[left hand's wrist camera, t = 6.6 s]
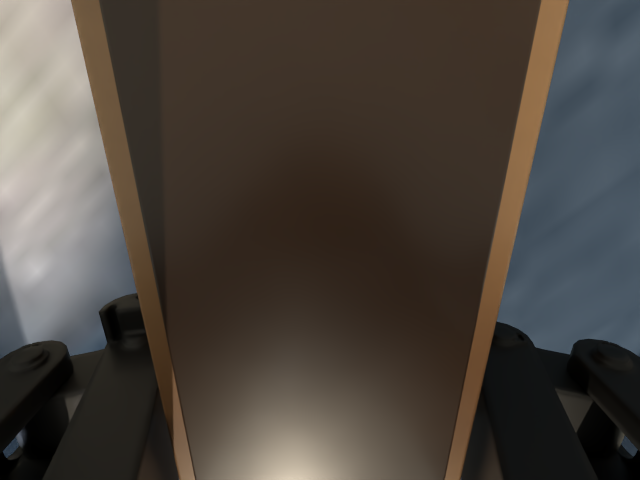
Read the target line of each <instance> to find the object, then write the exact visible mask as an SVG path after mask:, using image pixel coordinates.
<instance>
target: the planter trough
mask: <svg viewBox="0 0 640 480" xmlns="http://www.w3.org/2000/svg"><path fill="white" fill-rule="evenodd" d="M71 2H72V7H73V11H74V16H75V20H76V24H77V29H78V33H79V38H80V42H81V47H82V51H83V55H84V60H85V64H86V69H87V73H88V77H89V82H90V86H91V91H92V95H93V100H94V104H95V108H96V113H97V117H98V122H99V126H100V131H101V135H102V139H103V144H104V148H105V153H106V157H107V161H108V166H109V170H110V175H111V179H112V184H113V188H114V192H115V197H116V201H117V206H118V210H119V215H120V219H121V223H122V228H123V232H124V237H125V241H126V246H127V250H128V254H129V259H130V263H131V268H132V272H133V276H134V281H135V285H136V290H137V294H138V299H139V303H140V307H141V312H142V316H143V321H144V325H145V330H146V334H147V338H148V343H149V347H150V352H151V356H152V361H153V365H154V369H155V374H156V378H157V383H158V387H159V391H160V396H161V400H162V405H163V409H164V414H165V418H166V422H167V427H168V431H169V436H170V440H171V445H172V449H173V453H174V458H175V462H176V467H177V471H178V476H179V480H460V479H461V475H462V470H463V466H464V461H465V457H466V453H467V448H468V444H469V439H470V435H471V431H472V426H473V422H474V417H475V413H476V409H477V404H478V400H479V395H480V391H481V387H482V382H483V378H484V373H485V369H486V365H487V360H488V356H489V351H490V347H491V343H492V338H493V334H494V329H495V325H496V321H497V316H498V312H499V307H500V303H501V299H502V294H503V290H504V285H505V281H506V276H507V272H508V268H509V263H510V259H511V254H512V250H513V246H514V241H515V237H516V232H517V228H518V224H519V219H520V215H521V210H522V206H523V202H524V197H525V193H526V188H527V184H528V180H529V175H530V171H531V166H532V162H533V158H534V153H535V149H536V144H537V140H538V136H539V131H540V127H541V122H542V118H543V114H544V109H545V105H546V100H547V96H548V91H549V87H550V83H551V78H552V74H553V69H554V65H555V61H556V56H557V52H558V47H559V43H560V39H561V34H562V30H563V25H564V21H565V17H566V12H567V8H568V3H569V0H71Z"/></svg>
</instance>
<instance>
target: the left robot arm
mask: <svg viewBox="0 0 640 480" xmlns="http://www.w3.org/2000/svg"><path fill="white" fill-rule="evenodd" d="M99 315H100V318H101V322H102V326H103V329H104V333H105V336H106V340H107V345H106V347H105V349H102V350H99V351H94V352H89V353H84V354H79V355H74V356H70V355H69V352H68V349H67V346H66V345H65V344H64V343H62V342H60V341H52V340H51V341H42V342H36V343H32V344H28V345H25V346H23V347H21V348H19V349H17V350H15V351H13V352H11V353H9V354H7V355H6V356H4V357H3V358H1V359H0V480H179V476H178V471H177V467H176V462H175V458H174V453H173V449H172V445H171V440H170V436H169V431H168V427H167V422H166V418H165V414H164V409H163V405H162V400H161V396H160V391H159V387H158V383H157V378H156V374H155V369H154V365H153V361H152V356H151V352H150V347H149V343H148V338H147V334H146V330H145V325H144V321H143V316H142V312H141V307H140V303H139V299H138V294H137V293H135V294H130V295H126V296H123V297H120V298H118V299H115V300H113V301H111V302H110V303H108V304H106V305H105V306H104V307H103V308H102V309H101V310H100V311H99ZM624 436H626V437H627V438H628V439H629V440H630V441H631V442H632V443H633V444H634V446H635V447H636V448H637V449H638V451H637V453H636V455H635V456H634V457H633V456H631V455H630V454H629V453H628V452H627V451H626V450H625V449H624V447H623V446H622V445H621V442H622V440H623V438H624ZM15 437H16V439H17V441H18V443H19V445H20V446H19V447H18V448H17V449H16V450H15V452H14V453H13V454H11V455H10V456H9V457H8V458H6V457H5V456H4V454H3V450H4V449H5V448H6V447H7V446H8V445H9V444H10V442H11V441H12V440H13V439H14V438H15ZM461 480H640V357H639V356H637V355H635V354H634V353H632V352H631V351H629V350H627V349H625V348H622V347H620V346H619V345H617V344H614V343H611V342H610V343H609V342H608V341H603V340H595V339H584V340H579V341H577V342H576V343H575V344H574V345H573V348H572V351H571V354H570V355H569V354H564V353H559V352H554V351H549V350H544V349H540V348H536V347H535V346H534V344H533V342H532V341H531V340H530V338H529V337H528V336H527V335H526V334H524V333H523V332H522V331H520V330H519V329H517V328H515V327H512V326H510V325H508V324H504V323H500V322H497V321H496V325H495V329H494V334H493V338H492V343H491V347H490V351H489V356H488V360H487V365H486V369H485V373H484V378H483V382H482V387H481V391H480V395H479V400H478V404H477V409H476V413H475V417H474V422H473V426H472V431H471V435H470V439H469V444H468V448H467V453H466V457H465V461H464V466H463V470H462V475H461Z"/></svg>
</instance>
